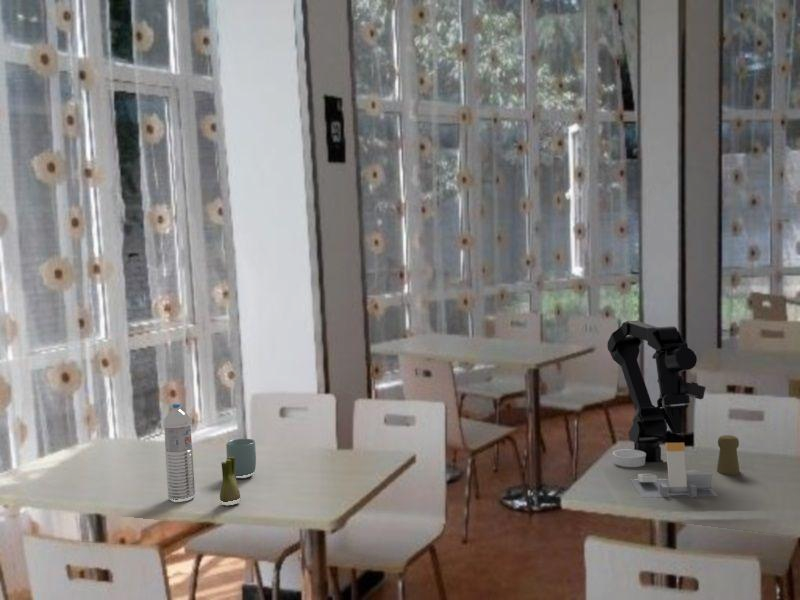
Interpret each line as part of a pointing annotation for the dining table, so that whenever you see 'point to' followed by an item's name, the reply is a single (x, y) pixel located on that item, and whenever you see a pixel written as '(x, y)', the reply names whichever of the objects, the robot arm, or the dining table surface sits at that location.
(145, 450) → the dining table surface
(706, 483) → the grey rectangular panel
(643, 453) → the ramekin
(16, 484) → the dining table surface
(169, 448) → the water bottle
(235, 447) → the cup
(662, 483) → the grey tray
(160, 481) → the dining table surface
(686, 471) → the button
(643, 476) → the rocker
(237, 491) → the fennel bulb
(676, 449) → the lever
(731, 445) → the cork
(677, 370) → the robot arm
